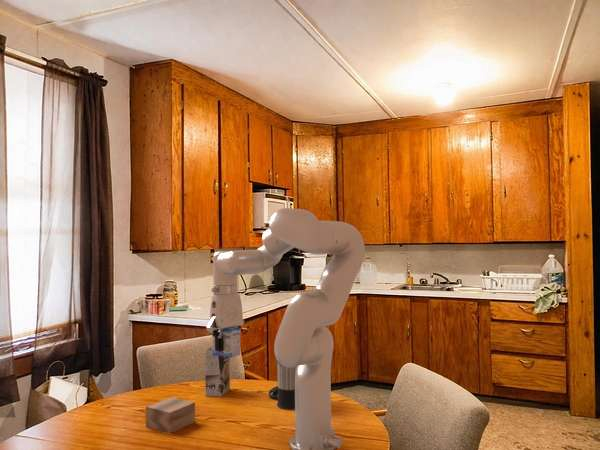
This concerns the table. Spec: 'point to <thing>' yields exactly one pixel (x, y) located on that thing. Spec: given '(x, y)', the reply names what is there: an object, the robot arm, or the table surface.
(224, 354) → the medicine box
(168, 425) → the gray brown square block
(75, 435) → the table surface
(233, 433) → the table surface
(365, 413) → the table surface
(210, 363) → the coffee box
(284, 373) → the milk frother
